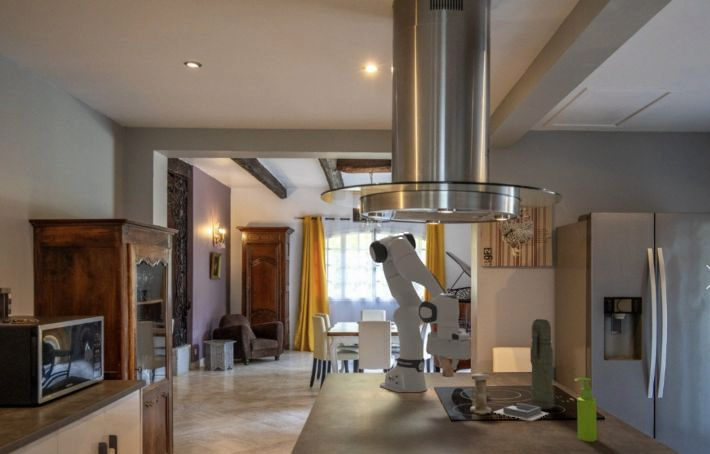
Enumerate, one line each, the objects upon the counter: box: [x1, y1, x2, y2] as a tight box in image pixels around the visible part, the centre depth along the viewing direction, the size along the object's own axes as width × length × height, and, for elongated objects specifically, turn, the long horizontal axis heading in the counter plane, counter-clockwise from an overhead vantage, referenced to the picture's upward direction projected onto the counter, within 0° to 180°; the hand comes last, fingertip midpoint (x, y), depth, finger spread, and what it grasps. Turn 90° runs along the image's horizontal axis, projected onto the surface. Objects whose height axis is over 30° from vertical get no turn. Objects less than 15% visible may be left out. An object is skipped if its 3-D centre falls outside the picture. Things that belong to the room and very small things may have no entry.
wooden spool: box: [469, 373, 492, 415], centre depth 232 cm, size 8×8×14 cm
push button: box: [476, 371, 491, 397], centre depth 258 cm, size 7×5×10 cm
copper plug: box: [441, 357, 454, 378], centre depth 238 cm, size 4×4×7 cm
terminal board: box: [493, 402, 550, 422], centre depth 228 cm, size 16×14×3 cm
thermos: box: [529, 318, 555, 410], centre depth 241 cm, size 9×12×35 cm
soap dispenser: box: [573, 377, 598, 442], centre depth 198 cm, size 6×7×20 cm
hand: (448, 368), depth 238 cm, fingers closed on copper plug, 4 cm apart
